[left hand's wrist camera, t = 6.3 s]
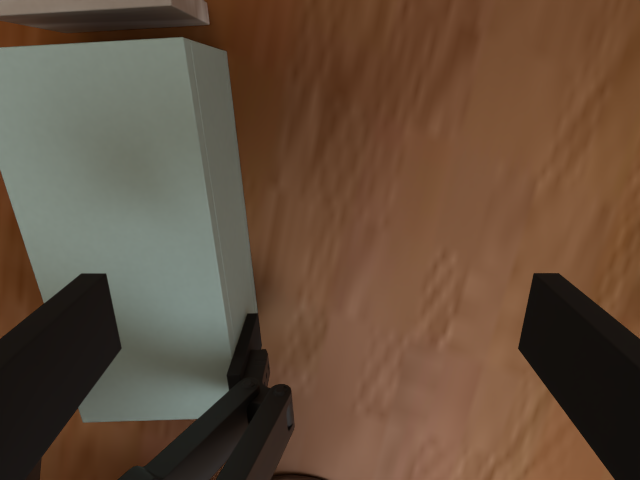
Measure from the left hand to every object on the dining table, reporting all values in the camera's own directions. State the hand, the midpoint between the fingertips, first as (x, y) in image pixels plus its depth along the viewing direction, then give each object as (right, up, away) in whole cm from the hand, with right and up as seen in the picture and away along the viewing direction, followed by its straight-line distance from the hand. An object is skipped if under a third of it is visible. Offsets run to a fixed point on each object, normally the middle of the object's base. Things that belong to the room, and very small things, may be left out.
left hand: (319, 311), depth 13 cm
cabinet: (-10, +4, +17) cm, 21 cm away
